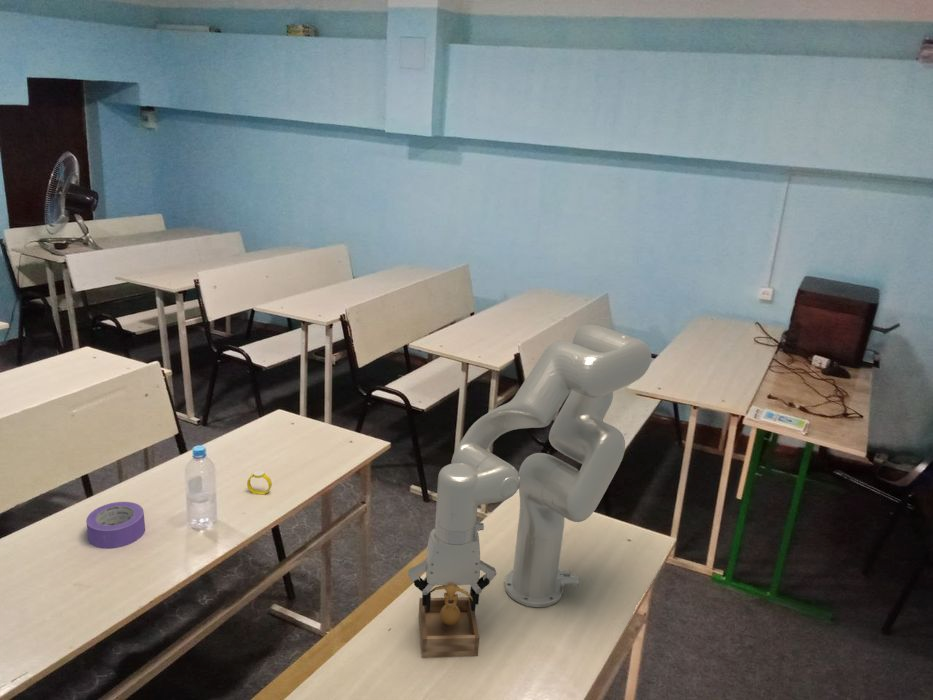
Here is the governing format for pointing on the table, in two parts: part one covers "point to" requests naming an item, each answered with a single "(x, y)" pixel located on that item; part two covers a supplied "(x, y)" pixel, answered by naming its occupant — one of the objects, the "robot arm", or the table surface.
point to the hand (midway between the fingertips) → (449, 606)
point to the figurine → (450, 611)
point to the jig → (448, 630)
